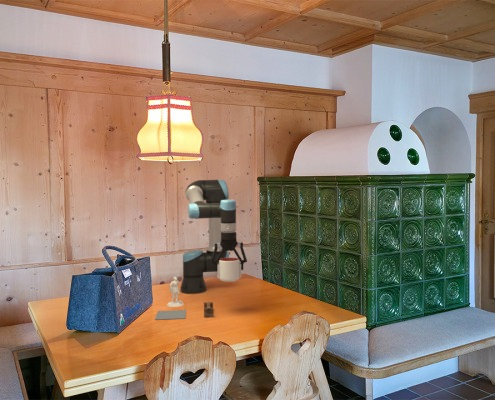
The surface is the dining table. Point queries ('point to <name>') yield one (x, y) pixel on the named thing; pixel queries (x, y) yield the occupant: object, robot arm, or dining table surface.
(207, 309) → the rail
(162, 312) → the pad
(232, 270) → the cup
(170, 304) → the figurine
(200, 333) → the dining table surface
